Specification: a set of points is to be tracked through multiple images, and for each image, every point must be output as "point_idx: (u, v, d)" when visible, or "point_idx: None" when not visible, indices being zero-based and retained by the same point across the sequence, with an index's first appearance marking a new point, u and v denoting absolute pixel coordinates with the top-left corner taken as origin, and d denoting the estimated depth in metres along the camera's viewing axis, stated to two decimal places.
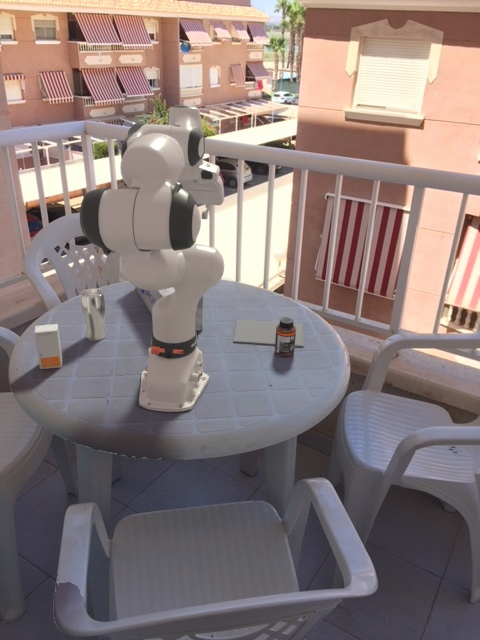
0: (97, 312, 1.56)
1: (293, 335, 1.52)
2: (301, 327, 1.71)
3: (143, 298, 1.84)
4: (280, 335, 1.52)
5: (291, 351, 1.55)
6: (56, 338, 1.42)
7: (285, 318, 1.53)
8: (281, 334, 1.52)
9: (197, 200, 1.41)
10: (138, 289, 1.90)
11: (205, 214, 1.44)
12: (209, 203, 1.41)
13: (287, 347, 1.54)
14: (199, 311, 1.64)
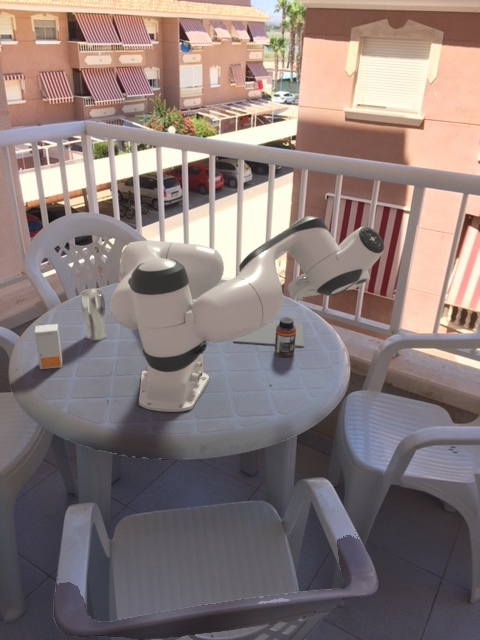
0: (97, 312, 1.56)
1: (293, 335, 1.52)
2: (301, 327, 1.71)
3: None
4: (280, 335, 1.52)
5: (291, 351, 1.55)
6: (56, 338, 1.42)
7: (285, 318, 1.53)
8: (281, 334, 1.52)
9: None
10: None
11: None
12: None
13: (287, 347, 1.54)
14: None
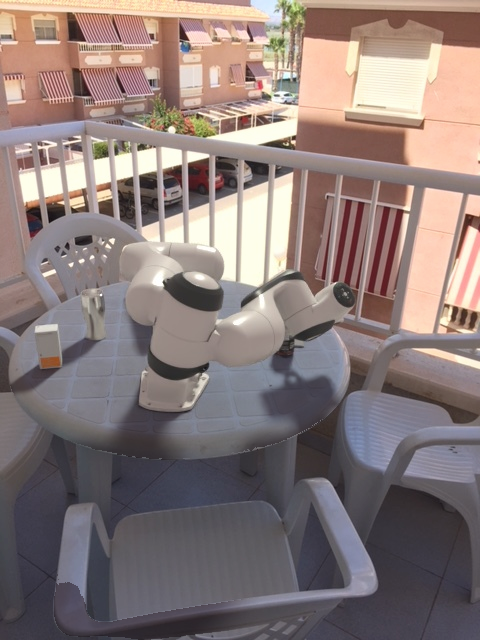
0: (97, 312, 1.56)
1: None
2: None
3: None
4: None
5: (291, 349, 1.55)
6: (56, 338, 1.42)
7: None
8: None
9: None
10: None
11: None
12: None
13: (287, 345, 1.54)
14: None
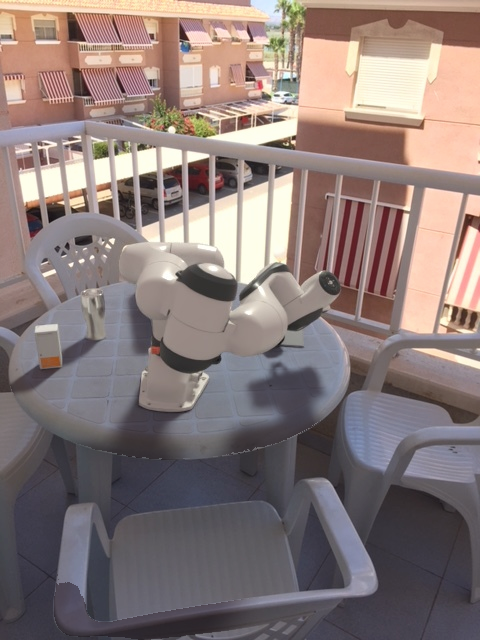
0: (97, 312, 1.56)
1: None
2: None
3: None
4: None
5: None
6: (56, 338, 1.42)
7: None
8: None
9: None
10: None
11: None
12: None
13: None
14: None
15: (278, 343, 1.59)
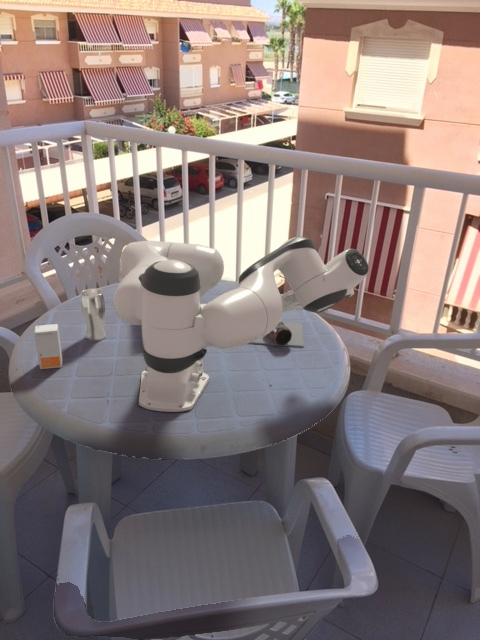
0: (97, 312, 1.56)
1: (280, 320, 1.64)
2: (301, 327, 1.71)
3: None
4: None
5: (287, 327, 1.60)
6: (56, 338, 1.42)
7: None
8: None
9: None
10: None
11: None
12: None
13: (281, 324, 1.60)
14: None
15: (281, 342, 1.59)
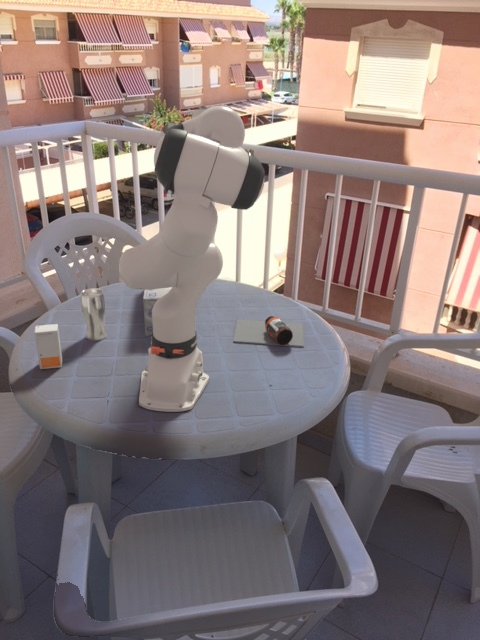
0: (97, 312, 1.56)
1: None
2: (301, 327, 1.71)
3: None
4: (271, 320, 1.63)
5: (288, 327, 1.60)
6: (56, 338, 1.42)
7: None
8: (271, 319, 1.64)
9: None
10: None
11: None
12: None
13: (283, 324, 1.61)
14: None
15: (281, 342, 1.59)
